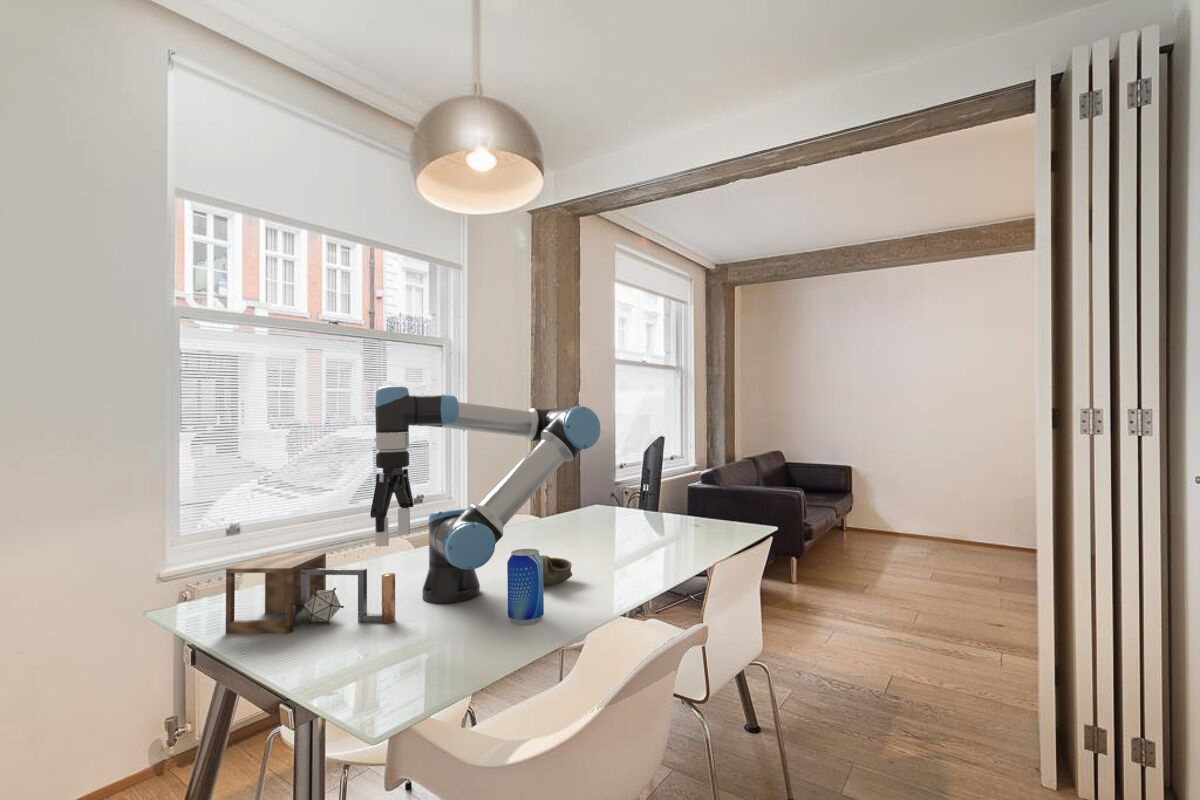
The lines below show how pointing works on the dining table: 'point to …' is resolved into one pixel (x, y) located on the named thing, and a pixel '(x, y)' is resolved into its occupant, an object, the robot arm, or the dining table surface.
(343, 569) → the pull yoke
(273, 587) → the shelf lane
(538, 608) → the beer can
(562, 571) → the brown rounded hollow piece
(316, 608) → the game die
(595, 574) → the dining table surface
